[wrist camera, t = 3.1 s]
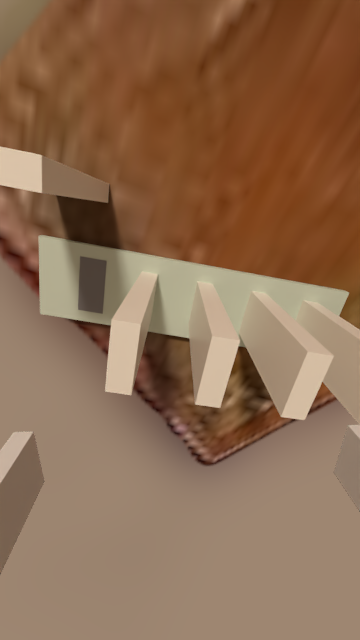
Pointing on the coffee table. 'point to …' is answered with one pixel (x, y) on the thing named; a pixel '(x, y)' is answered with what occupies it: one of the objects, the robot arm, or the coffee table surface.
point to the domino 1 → (48, 176)
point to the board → (171, 289)
